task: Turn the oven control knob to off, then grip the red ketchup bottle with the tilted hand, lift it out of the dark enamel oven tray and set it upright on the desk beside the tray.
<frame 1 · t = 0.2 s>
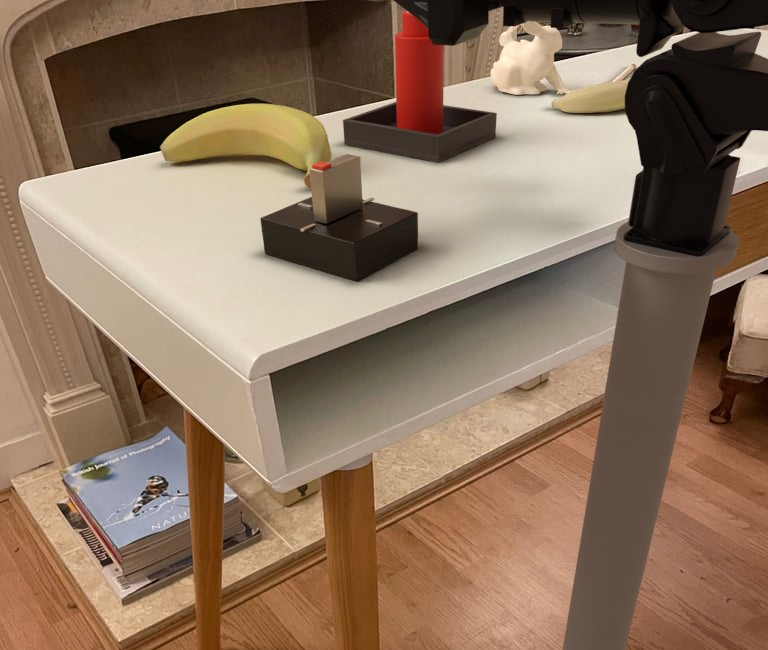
oven tray: (420, 141, 91), on the table
ketchup bottle: (420, 135, 90), point 1 cm above the table, touching oven tray
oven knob: (336, 187, 63), point 5 cm above the table, hinge at 90.0°
black rectangular block: (341, 251, 66), on the table
banana: (258, 172, 84), on the table
fruit: (611, 106, 101), on the table
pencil: (617, 84, 110), on the table
rabbit figurine: (522, 94, 107), on the table
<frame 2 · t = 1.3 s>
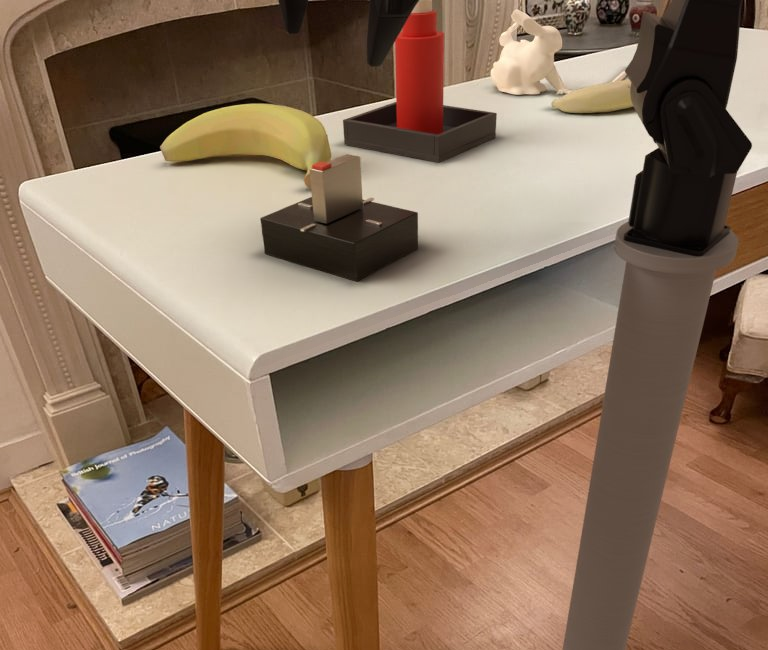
hand: (331, 49, 58), 14 cm above the table, tool pointing down, fingers open, 9 cm apart
nothing on the table moved.
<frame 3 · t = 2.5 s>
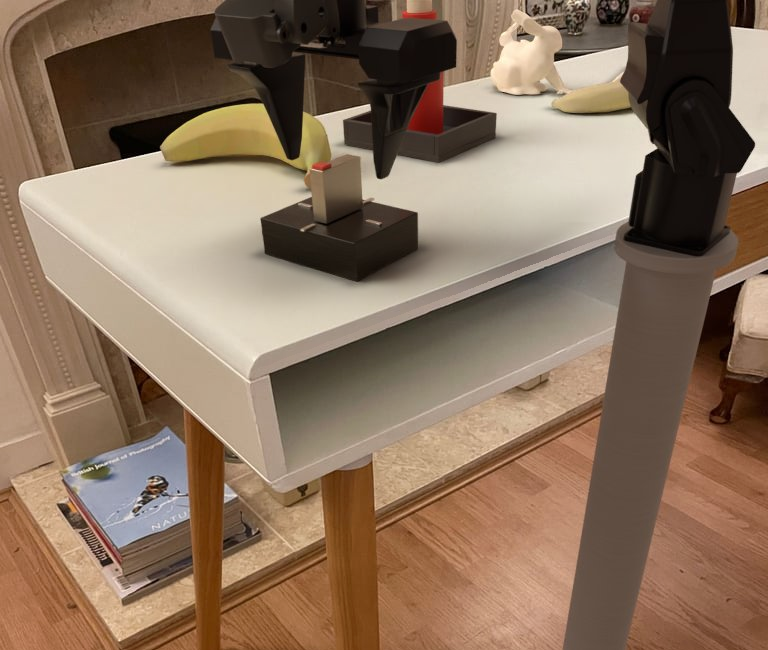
hand: (336, 168, 62), 7 cm above the table, tool pointing down, fingers open, 9 cm apart
nothing on the table moved.
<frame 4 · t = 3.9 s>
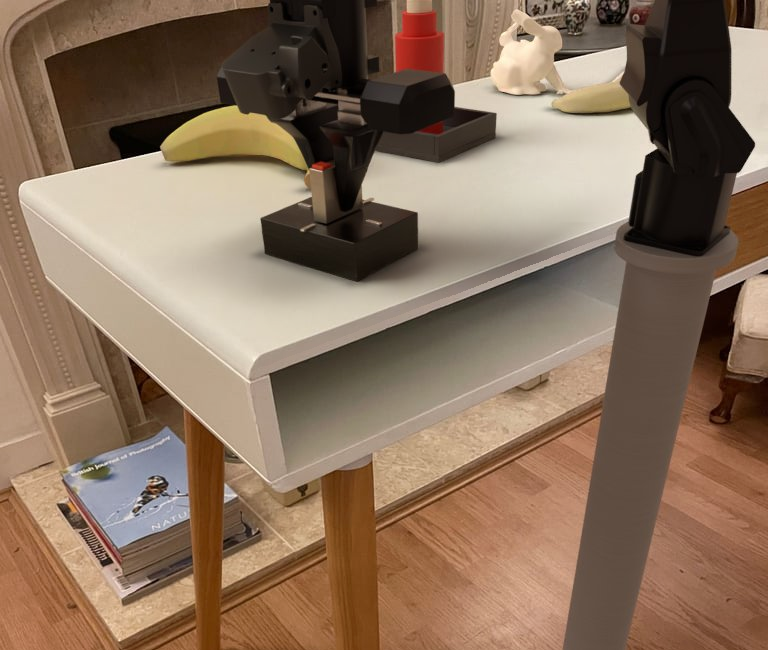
hand: (338, 208, 64), 4 cm above the table, tool pointing down, fingers closed on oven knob
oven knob: (336, 187, 63), point 5 cm above the table, hinge at 90.0°, touching gripper
everything else where it was.
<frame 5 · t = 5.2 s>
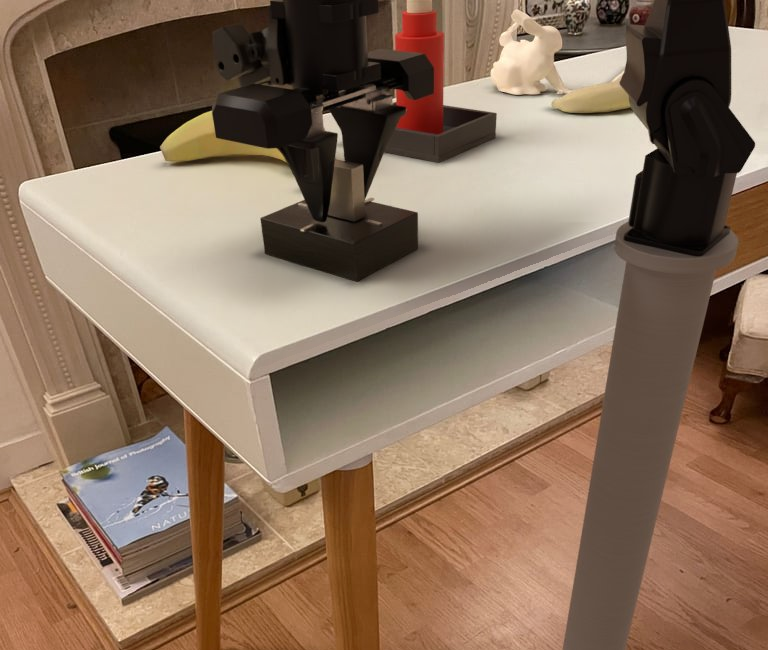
hand: (338, 212, 64), 3 cm above the table, tool pointing down, fingers open, 4 cm apart
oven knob: (336, 187, 63), point 5 cm above the table, hinge at 0.1°
everything else where it was.
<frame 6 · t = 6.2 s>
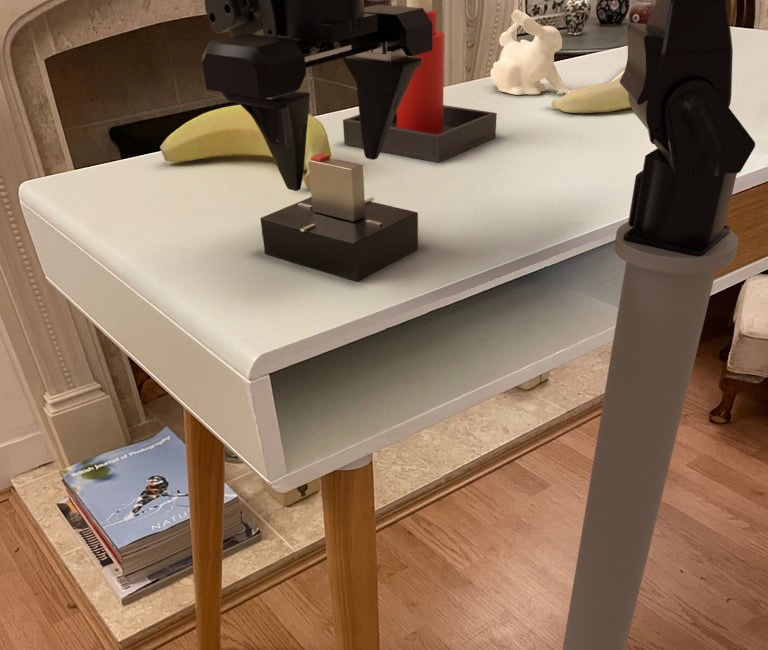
hand: (334, 173, 62), 6 cm above the table, tool pointing down, fingers open, 9 cm apart
nothing on the table moved.
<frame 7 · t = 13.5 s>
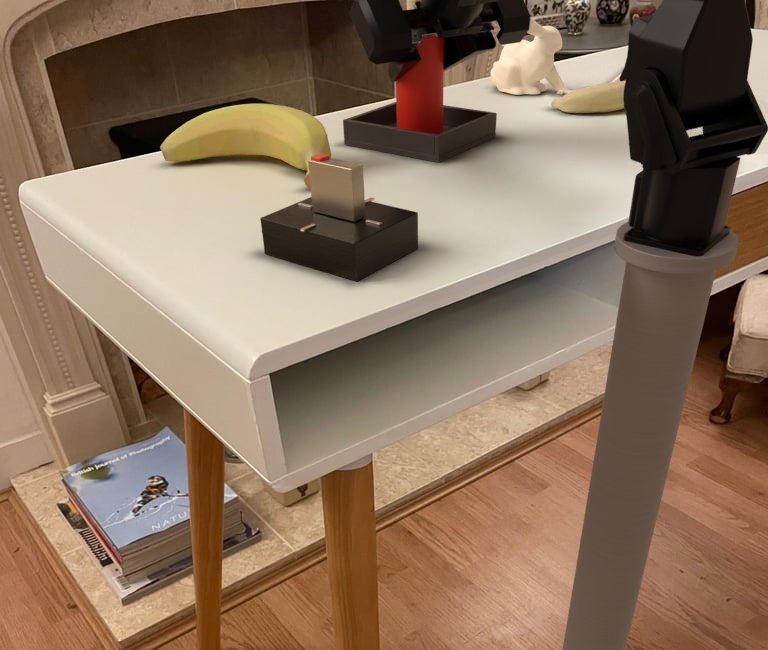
hand: (413, 74, 88), 7 cm above the table, tool tilted 45°, fingers closed on ketchup bottle, 5 cm apart
ketchup bottle: (419, 135, 90), point 1 cm above the table, touching gripper, oven tray
everything else where it was.
when the fingers open (6 cm above the table, at t = 19.5 s): ketchup bottle stays where it is, on the table.
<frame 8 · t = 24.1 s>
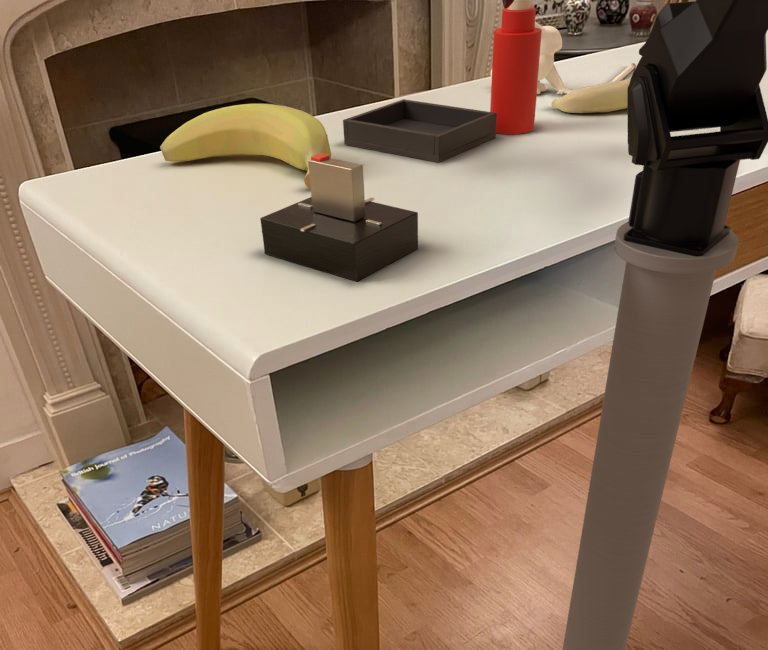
hand: (548, 0, 79), 14 cm above the table, tool tilted 45°, fingers open, 9 cm apart
ketchup bottle: (511, 128, 94), on the table
everything else where it was.
at the end: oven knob at +0° (first picture: +90°); ketchup bottle inside the target area (0.7 cm from its centre), on the table; ketchup bottle tilted 0° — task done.
